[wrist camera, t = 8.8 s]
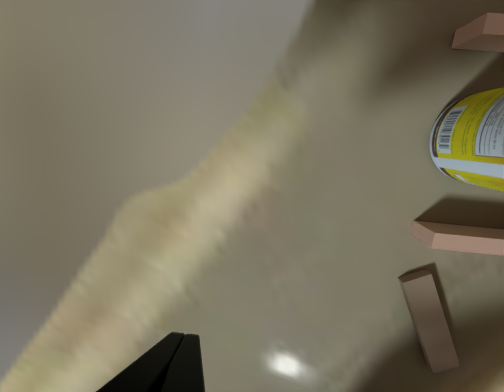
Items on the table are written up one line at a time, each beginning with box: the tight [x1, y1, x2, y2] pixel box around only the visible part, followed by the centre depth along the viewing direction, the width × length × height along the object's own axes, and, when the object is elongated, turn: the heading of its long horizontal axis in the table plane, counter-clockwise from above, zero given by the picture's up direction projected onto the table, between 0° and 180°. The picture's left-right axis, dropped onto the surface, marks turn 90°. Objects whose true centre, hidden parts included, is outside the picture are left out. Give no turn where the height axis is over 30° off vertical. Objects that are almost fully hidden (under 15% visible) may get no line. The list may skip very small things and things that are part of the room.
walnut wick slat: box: [398, 269, 460, 374], centre depth 21 cm, size 8×2×1 cm, turn 22°
